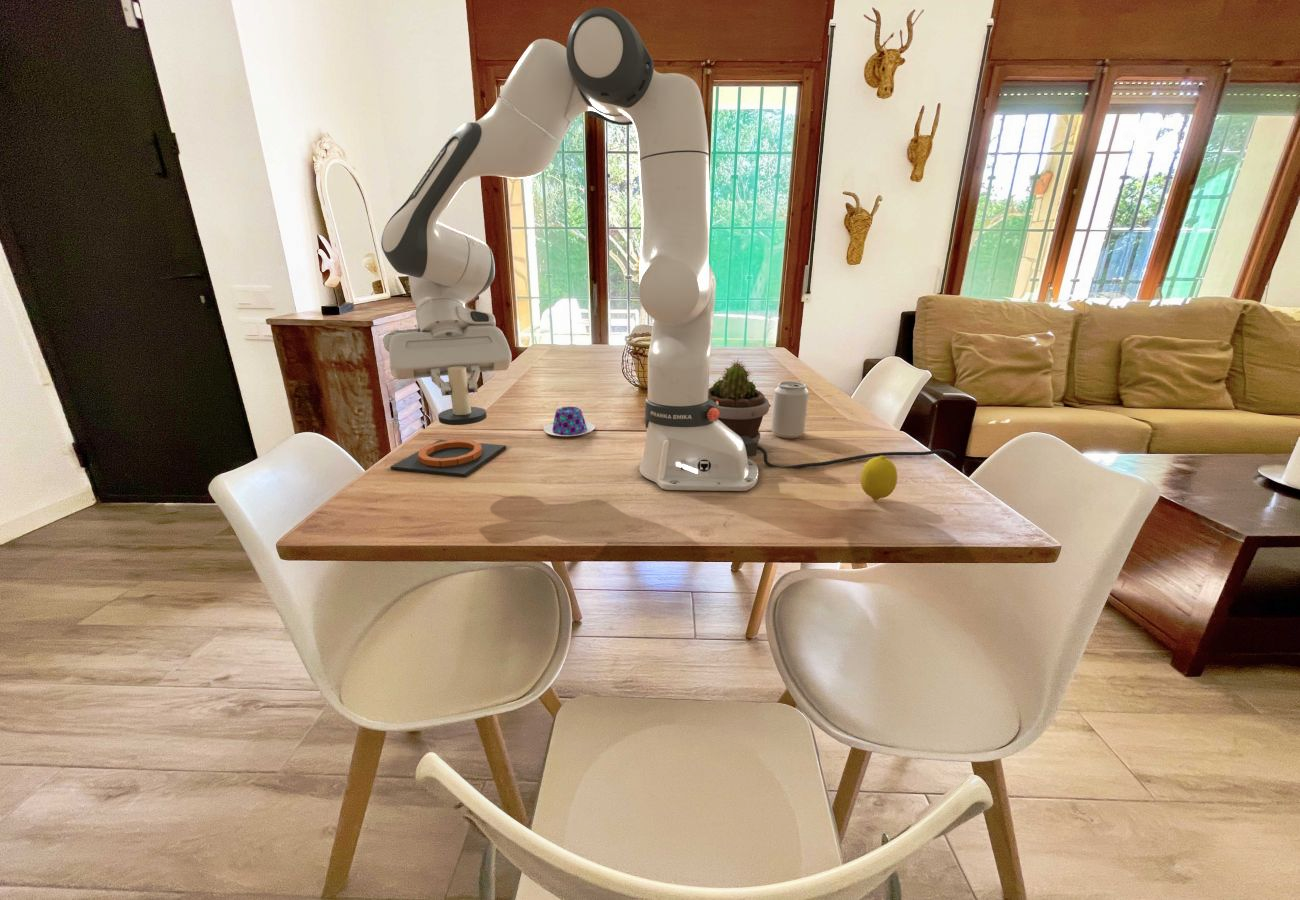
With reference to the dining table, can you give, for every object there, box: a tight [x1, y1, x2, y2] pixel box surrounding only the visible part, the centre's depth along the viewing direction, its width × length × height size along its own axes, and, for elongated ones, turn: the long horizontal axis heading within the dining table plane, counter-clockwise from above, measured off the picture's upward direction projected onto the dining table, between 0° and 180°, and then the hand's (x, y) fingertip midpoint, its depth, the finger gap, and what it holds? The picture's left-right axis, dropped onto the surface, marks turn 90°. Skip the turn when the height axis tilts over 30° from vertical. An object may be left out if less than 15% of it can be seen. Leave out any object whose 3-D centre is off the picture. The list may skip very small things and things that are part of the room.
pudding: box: [543, 406, 596, 437], centre depth 121 cm, size 12×12×5 cm
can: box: [770, 380, 810, 439], centre depth 117 cm, size 8×8×12 cm
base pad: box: [390, 439, 507, 478], centre depth 105 cm, size 16×16×2 cm
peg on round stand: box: [437, 366, 487, 426], centre depth 90 cm, size 8×8×9 cm
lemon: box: [860, 456, 898, 501], centre depth 86 cm, size 6×6×8 cm
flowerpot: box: [708, 357, 771, 444], centre depth 109 cm, size 14×15×20 cm
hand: (460, 392), depth 89 cm, fingers closed on peg on round stand, 3 cm apart
